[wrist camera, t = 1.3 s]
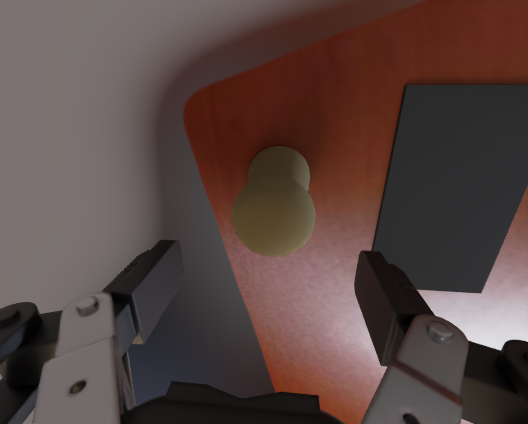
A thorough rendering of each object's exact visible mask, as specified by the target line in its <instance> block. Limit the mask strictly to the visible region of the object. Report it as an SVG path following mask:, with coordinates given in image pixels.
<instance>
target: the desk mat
mask: <svg viewBox="0 0 528 424" xmlns="http://www.w3.org/2000/svg"><path fill="white" fill-rule="evenodd" d="M527 186H528V85H405V88H404V93H403V98H402V103H401V108H400V113H399V118H398V123H397V128H396V133H395V138H394V143H393V148H392V153H391V158H390V163H389V168H388V173H387V178H386V183H385V188H384V193H383V198H382V203H381V208H380V213H379V218H378V223H377V228H376V233H375V238H374V243H373V248H372V251H380V252H381V253H382V255H383V256H384V258H385V259H386V261H387V262H388V264H394V265H396V266H397V267H398V268H400V269H401V270H402V271H404V272H405V274H406V275H407V277H408V278H409V279H410V282H412V284H413V285H414V286H415V288H416V289H417V290H434V291H450V292H466V293H482V290H483V288H484V286H485V283H486V281H487V279H488V276H489V274H490V272H491V269H492V267H493V265H494V262H495V260H496V258H497V255H498V253H499V251H500V249H501V246H502V244H503V242H504V239H505V237H506V235H507V232H508V230H509V228H510V225H511V223H512V221H513V218H514V216H515V214H516V211H517V209H518V207H519V204H520V202H521V200H522V197H523V195H524V193H525V191H526V188H527Z"/></svg>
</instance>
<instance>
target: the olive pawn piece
mask: <svg viewBox="0 0 528 424" xmlns="http://www.w3.org/2000/svg"><path fill="white" fill-rule="evenodd" d="M309 182H310V170H309V166H308V164H307V162H306V160H305V158H304V157H303V156H302V155H301V154H300V153H298V152H297V151H296V150H294V149H291V148H289V147H285V146H274V147H269V148H266V149H265V150H263V151H261V152H260V153H258V154H257V156H256V157H255V158H254V159H253V160H252V162H251V165H250V167H249V171H248V183H247V185H246V186H245V187H244V188H243V189H242V190H241V191H240V193H239V194H238V196H237V198H236V200H235V203H234V205H233V212H232V223H233V226H234V229H235V233H236V235H237V236H238V238H239V239H240V241H241V242H242V243H243V244H244V245H245V246H246V247H248V248H249V249H250V250H252V251H253V252H255V253H258V254H260V255H263V256H269V257H279V256H285V255H288V254H290V253H293V252H295V251H297V250H298V249H300V248H301V247H302V246H303V245H304V244H305V243H306V242H307V241H308V239H309V237H310V236H311V234H312V232H313V229H314V224H315V219H316V215H315V209H314V204H313V201H312V199H311V197H310V195H309V194H308V188H309Z"/></svg>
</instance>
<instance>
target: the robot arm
mask: <svg viewBox="0 0 528 424" xmlns="http://www.w3.org/2000/svg"><path fill="white" fill-rule="evenodd" d="M183 275H184V268H183V261H182V254H181V247H180V243H179V241H174V240H160V241H159V242H158V243H157V244H156V245H155V246H154V247H153V248H152V249H151V250H147V251H146V252H144V253H142V254H140V255H138V256H137V257H136V258H135V259H134V260H133V261H132V262H131V263H130V265H128V266H127V267H126V268H125V269H124V271H122V272H121V273H120V274H119V275H118V276H117V277H116V278H115V279H114V280H113V281H112V282H111V283H110V284H109V285H108V286H106V287H105V288H104V289H103V290H102V291H101V292H93V293H89V294H86V295H83V296H81V297H79V298H77V299H75V300H73V301H72V302H71V303H69V304H68V305H67V306H66V307H65V308H64V310H62V311H56V312H50V313H44V314H40V313H39V311H38V309H37V306H36V305H35V304H34V303H31V302H22V303H16V304H13V305H9V306H7V307H4V308H1V309H0V374H1V376H2V379H1V380H0V424H22V423H23V422H24V421H25V419H26V418H27V417H28V416H29V414H30V413H31V412H32V411H33V409H34V408H35V410H34V416H33V421H32V424H345V423H343V422H342V421H340V420H339V419H338V418H336V417H335V416H333V415H331V414H329V413H327V412H325V411H323V410H320V406H319V396H318V395H308V394H298V393H288V392H277V393H272V394H266V395H261V396H255V397H250V398H238V397H235V396H233V395H231V394H228V393H226V392H223V391H221V390H218V389H216V388H214V387H211V386H209V385H206V384H195V383H185V382H175V381H172V382H171V384H170V386H169V389H168V391H167V393H166V395H161V396H158V397H155V398H152V399H149V400H147V401H145V402H143V403H141V404H139V405H137V406H136V404H135V399H134V392H133V385H132V379H131V371H130V364H129V357H128V353H127V349H128V348H129V346H130V345H131V343H133V344H144V343H145V342H146V340H147V338H148V337H149V335H150V334H151V332H152V330H153V328H154V327H155V325H156V324H157V322H158V320H159V319H160V317H161V315H162V314H163V312H164V310H165V309H166V307H167V306H168V304H169V302H170V301H171V299H172V297H173V296H174V294H175V292H176V291H177V289H178V288H179V286H180V284H181V282H182V280H183ZM354 288H355V295H356V298H357V300H358V303H359V306H360V309H361V312H362V314H363V317H364V320H365V323H366V326H367V328H368V331H369V334H370V337H371V339H372V342H373V345H374V348H375V351H376V353H377V356H378V359H379V362H380V365H381V366H388V367H387V369H386V371H385V373H384V376H383V378H382V380H381V382H380V384H379V386H378V388H377V390H376V392H375V394H374V396H373V398H372V401H371V403H370V405H369V407H368V409H367V411H366V413H365V415H364V417H363V419H362V421H361V423H360V424H460V422H461V419H464V420H466V421H469V422H471V423H474V424H528V342H526V341H522V340H509V341H507V342H505V344H504V346H503V348H502V350H501V351H500V350H497V349H494V348H490V347H487V346H484V345H480V344H477V343H474V342H471V341H468V340H467V338H466V336H465V335H464V333H463V332H462V331H461V330H460V329H459V328H457V327H456V326H455V325H454V324H452V323H450V322H449V321H447V320H445V319H443V318H440V317H437V316H435V315H434V313H433V312H432V311H431V309H430V308H429V306H428V305H427V304H426V302H425V301H424V299H423V298H422V296H421V295H420V294H419V292H418V291H417V290H416V288H415V286H414V285H413V284H412V282H410V279H409V278H408V277H407V275H406V274H405V272H404V271H402V270H401V269H400V268H398V267H397V266H396V265H394V264H388V262H387V261H386V259H385V258H384V256H383V255H382V253H381V252H380V251H361V252H360V254H359V259H358V264H357V270H356V276H355V282H354Z"/></svg>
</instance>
